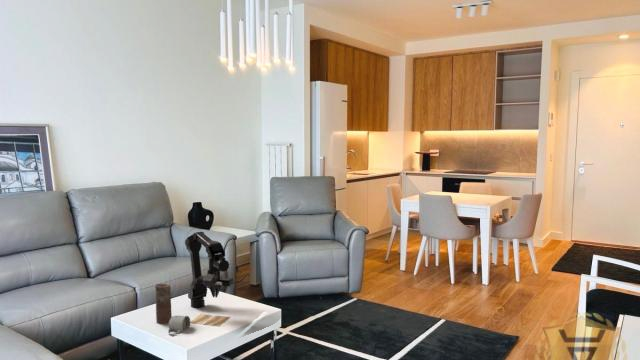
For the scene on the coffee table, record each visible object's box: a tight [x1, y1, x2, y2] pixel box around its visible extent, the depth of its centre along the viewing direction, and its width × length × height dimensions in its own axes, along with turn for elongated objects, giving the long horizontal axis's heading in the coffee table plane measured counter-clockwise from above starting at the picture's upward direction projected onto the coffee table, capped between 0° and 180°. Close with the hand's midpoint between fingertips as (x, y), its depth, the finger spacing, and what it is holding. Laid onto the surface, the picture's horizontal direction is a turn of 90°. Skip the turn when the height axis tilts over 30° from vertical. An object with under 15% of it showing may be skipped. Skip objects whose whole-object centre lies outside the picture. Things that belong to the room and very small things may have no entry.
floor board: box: [202, 315, 232, 327], centre depth 239 cm, size 9×13×1 cm
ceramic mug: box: [167, 315, 191, 337], centre depth 227 cm, size 11×8×8 cm
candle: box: [154, 283, 173, 325], centre depth 238 cm, size 8×7×20 cm
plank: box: [190, 313, 214, 325], centre depth 241 cm, size 7×12×1 cm, turn 165°
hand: (215, 297), depth 243 cm, fingers closed
